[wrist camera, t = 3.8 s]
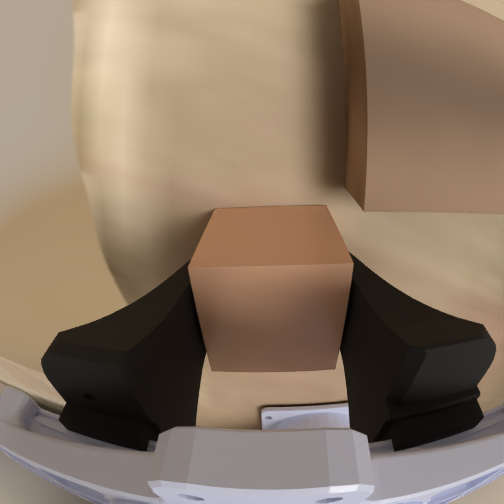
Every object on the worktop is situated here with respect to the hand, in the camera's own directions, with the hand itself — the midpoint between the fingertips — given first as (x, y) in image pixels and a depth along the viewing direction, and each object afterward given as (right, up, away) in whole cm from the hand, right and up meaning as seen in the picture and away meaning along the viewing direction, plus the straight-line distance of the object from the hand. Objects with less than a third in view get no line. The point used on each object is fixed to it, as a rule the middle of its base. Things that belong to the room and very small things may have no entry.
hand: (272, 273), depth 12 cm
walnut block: (+7, +7, -2) cm, 10 cm away
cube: (0, +1, +1) cm, 1 cm away
